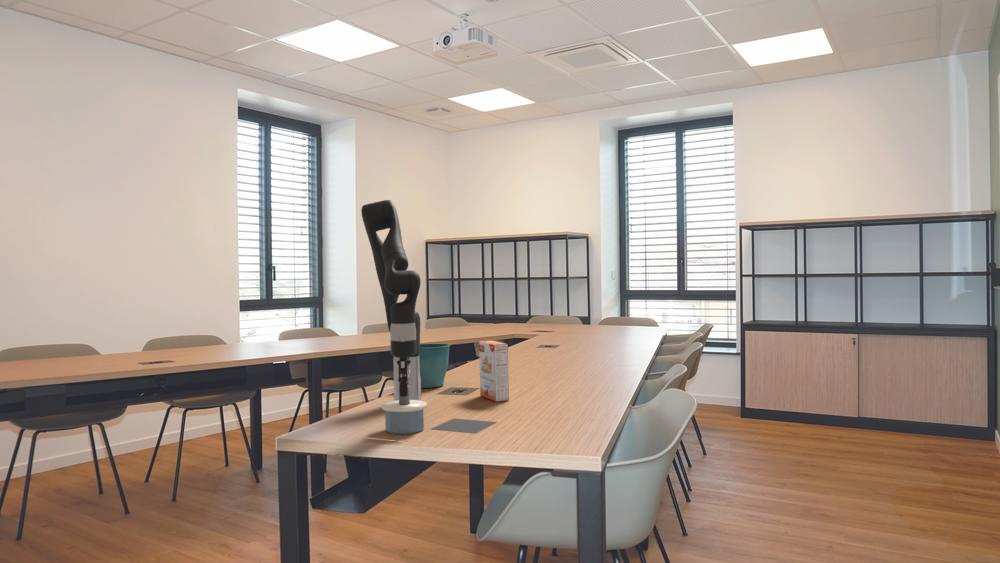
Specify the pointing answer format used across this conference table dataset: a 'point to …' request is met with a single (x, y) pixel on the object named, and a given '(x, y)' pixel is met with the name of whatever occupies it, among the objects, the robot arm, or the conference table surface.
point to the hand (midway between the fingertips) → (404, 393)
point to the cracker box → (494, 370)
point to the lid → (404, 404)
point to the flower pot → (433, 364)
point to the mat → (464, 425)
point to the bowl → (404, 422)
